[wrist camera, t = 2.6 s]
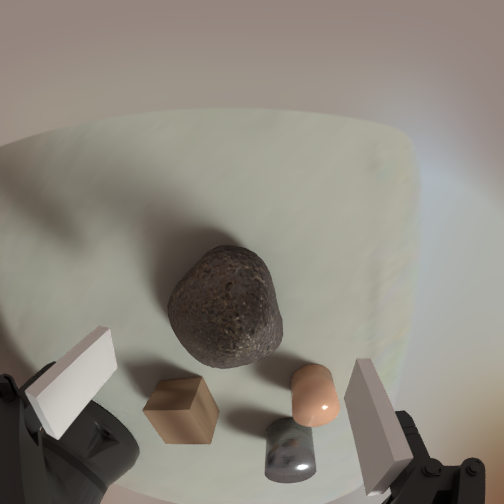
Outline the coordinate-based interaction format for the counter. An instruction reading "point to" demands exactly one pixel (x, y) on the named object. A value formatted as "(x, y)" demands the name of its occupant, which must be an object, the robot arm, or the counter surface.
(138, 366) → the counter surface
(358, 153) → the counter surface
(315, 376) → the peach rounded capsule
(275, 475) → the metal tin
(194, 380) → the walnut block
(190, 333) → the stone
